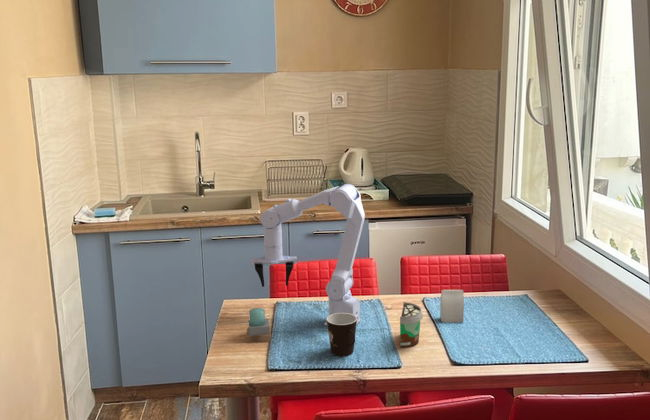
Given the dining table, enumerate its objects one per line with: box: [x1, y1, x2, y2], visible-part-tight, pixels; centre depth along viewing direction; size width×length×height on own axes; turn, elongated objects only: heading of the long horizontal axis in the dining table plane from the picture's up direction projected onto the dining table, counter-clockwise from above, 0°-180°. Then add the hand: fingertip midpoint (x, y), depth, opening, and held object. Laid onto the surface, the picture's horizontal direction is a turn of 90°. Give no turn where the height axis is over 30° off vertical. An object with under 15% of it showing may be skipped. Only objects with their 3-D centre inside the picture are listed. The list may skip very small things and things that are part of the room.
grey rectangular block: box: [439, 289, 465, 323], centre depth 204 cm, size 4×7×10 cm, turn 87°
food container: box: [399, 301, 424, 349], centre depth 189 cm, size 12×6×10 cm, turn 168°
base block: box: [245, 325, 272, 344], centre depth 195 cm, size 7×7×2 cm
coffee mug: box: [326, 313, 358, 357], centre depth 182 cm, size 12×9×10 cm
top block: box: [248, 318, 270, 336], centre depth 195 cm, size 6×6×2 cm
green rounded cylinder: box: [248, 307, 266, 326], centre depth 194 cm, size 5×5×4 cm
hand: (275, 285), depth 209 cm, fingers open, 7 cm apart
